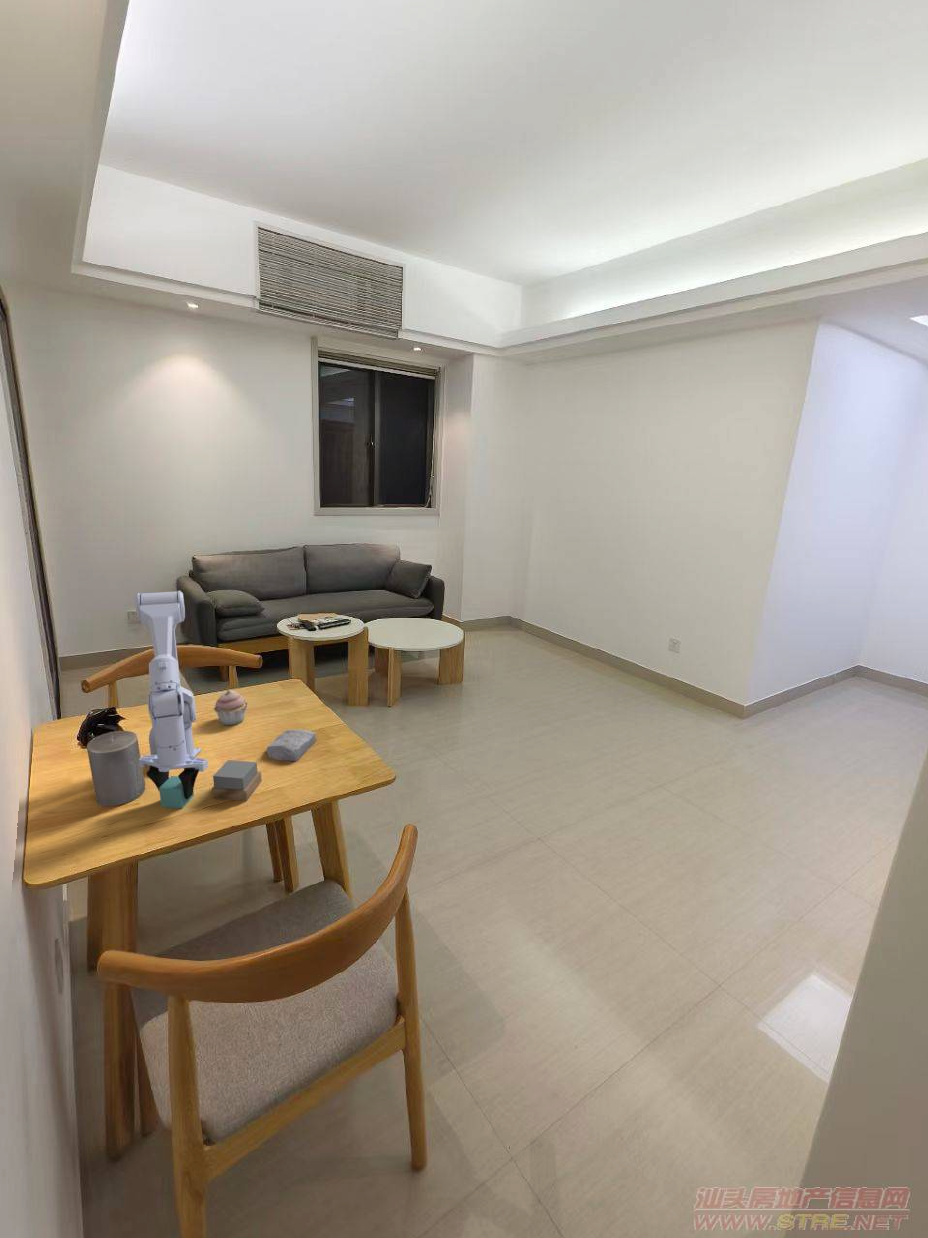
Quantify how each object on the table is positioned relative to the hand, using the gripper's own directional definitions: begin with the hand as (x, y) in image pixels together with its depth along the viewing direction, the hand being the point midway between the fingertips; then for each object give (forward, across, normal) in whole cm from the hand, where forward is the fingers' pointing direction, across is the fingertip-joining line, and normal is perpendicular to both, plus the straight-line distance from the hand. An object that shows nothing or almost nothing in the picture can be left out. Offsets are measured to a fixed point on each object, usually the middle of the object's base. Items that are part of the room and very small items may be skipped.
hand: (177, 795), depth 125 cm
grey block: (-1, +11, +6) cm, 12 cm away
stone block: (+2, +16, +26) cm, 31 cm away
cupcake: (+2, -6, +39) cm, 39 cm away
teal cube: (+1, 0, 0) cm, 1 cm away
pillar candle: (+2, -14, +1) cm, 14 cm away
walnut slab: (+2, +11, +6) cm, 13 cm away
